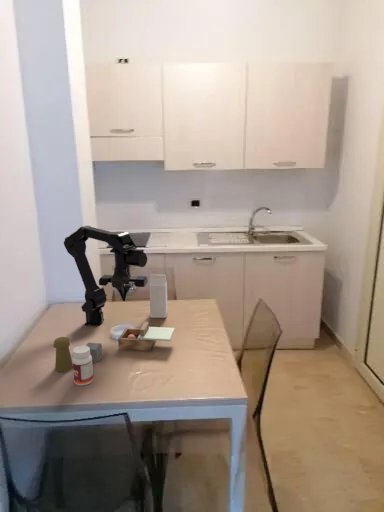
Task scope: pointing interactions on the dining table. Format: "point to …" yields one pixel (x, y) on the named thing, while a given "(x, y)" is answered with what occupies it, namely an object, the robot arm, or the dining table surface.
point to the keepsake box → (134, 341)
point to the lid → (155, 333)
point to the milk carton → (158, 296)
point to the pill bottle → (82, 365)
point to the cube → (95, 351)
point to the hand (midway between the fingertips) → (124, 300)
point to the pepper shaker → (63, 355)
